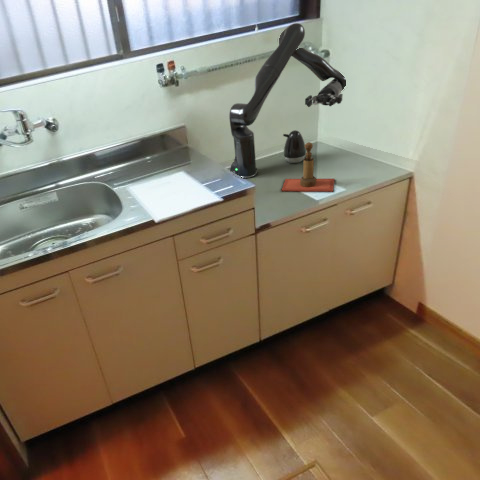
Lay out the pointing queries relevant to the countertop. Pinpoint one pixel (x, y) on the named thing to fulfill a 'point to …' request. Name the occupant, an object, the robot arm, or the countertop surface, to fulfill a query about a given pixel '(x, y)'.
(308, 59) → the robot arm
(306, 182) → the mortar and pestle
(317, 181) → the tray
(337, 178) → the countertop surface
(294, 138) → the pump dispenser
